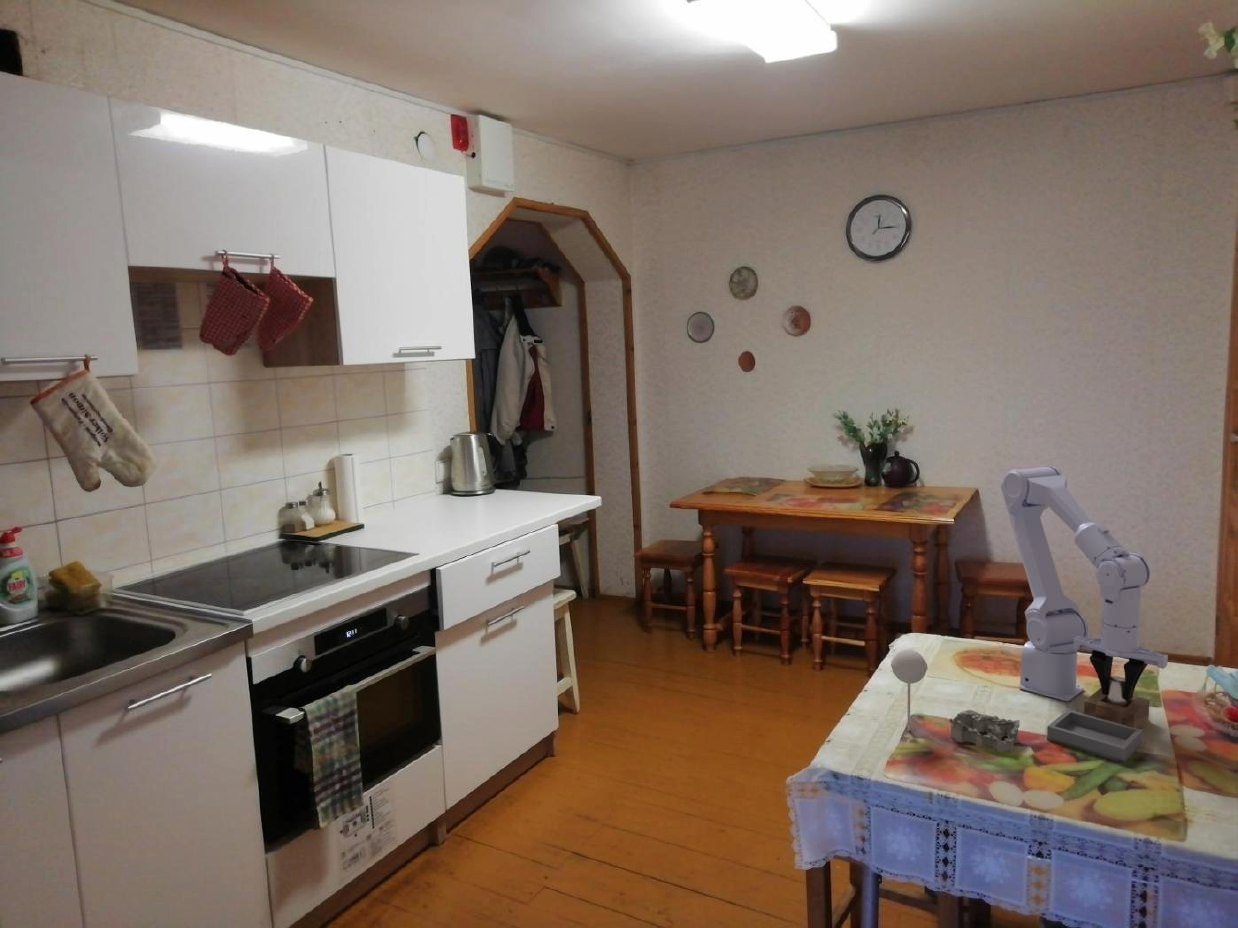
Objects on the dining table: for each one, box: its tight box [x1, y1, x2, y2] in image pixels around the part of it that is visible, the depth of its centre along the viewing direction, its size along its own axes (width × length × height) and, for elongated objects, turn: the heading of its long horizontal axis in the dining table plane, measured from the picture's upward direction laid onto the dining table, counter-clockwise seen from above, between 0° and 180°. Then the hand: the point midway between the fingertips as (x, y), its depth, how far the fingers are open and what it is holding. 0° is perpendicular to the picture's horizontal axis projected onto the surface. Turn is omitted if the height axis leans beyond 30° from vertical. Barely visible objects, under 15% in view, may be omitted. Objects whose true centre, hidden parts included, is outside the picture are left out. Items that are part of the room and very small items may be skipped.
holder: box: [1083, 687, 1151, 730], centre depth 153 cm, size 8×8×4 cm
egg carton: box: [948, 709, 1021, 753], centre depth 149 cm, size 11×8×4 cm
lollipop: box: [890, 649, 929, 732], centre depth 153 cm, size 6×6×15 cm
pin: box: [1107, 675, 1127, 708], centre depth 153 cm, size 3×3×8 cm
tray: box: [1046, 709, 1144, 764], centre depth 146 cm, size 12×9×2 cm
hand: (1117, 695), depth 153 cm, fingers closed on pin, 3 cm apart
